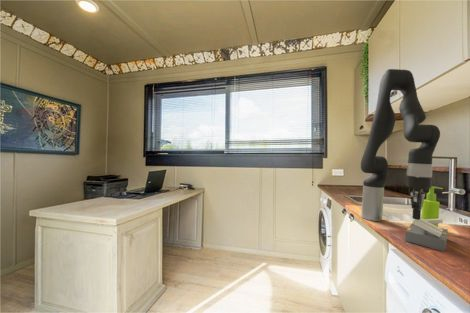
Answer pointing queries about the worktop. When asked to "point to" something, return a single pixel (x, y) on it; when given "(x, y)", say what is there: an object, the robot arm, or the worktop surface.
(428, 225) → the block
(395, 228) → the worktop surface
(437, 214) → the soap dispenser
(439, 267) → the worktop surface
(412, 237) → the switch box
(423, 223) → the block
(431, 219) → the block
